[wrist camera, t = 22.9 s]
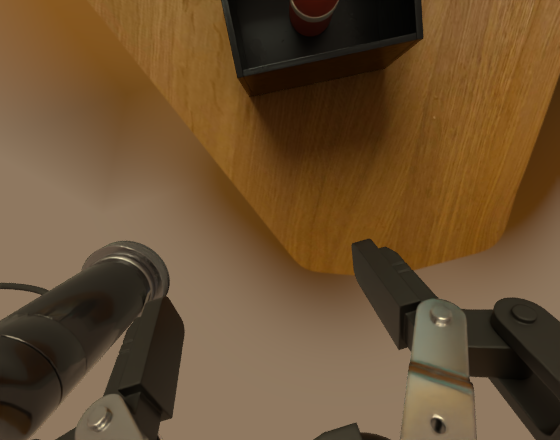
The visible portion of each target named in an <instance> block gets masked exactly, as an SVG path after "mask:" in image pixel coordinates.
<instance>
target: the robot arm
mask: <svg viewBox="0 0 560 440" xmlns="http://www.w3.org/2000/svg"><path fill="white" fill-rule="evenodd" d="M352 256H353V266H354V273H355V276H356V279H357V281H358V283H359V285H360V287H361V288H362V290H363V292H364V293H365V295H366V297H367V298H368V300H369V302H370V303H371V305H372V307H373V308H374V310H375V311H376V313H377V315H378V317H379V318H380V320H381V321H382V323H383V325H384V326H385V328H386V330H387V331H388V333H389V335H390V336H391V338H392V340H393V341H394V343H395V345H396V346H397V348H398V349H399V350H400V349H404V348H407V347H408V348H409V349H410V351H411V359H410V364H409V370H408V378H407V386H406V394H405V402H404V411H403V419H402V427H401V435H400V440H477V435H476V416H475V399H474V388H473V384H472V383H471V382H470V379H469V376H472V377H488V378H489V379H490V380H491V382H492V383H493V384H494V386H495V387H496V388H497V389H498V391H499V392H500V394H501V395H502V396H503V398H504V399H505V400H506V401H507V403H508V404H509V405H510V407H511V408H512V409H513V411H514V412H515V413H516V414H517V416H518V417H519V418H520V420H521V421H522V422H523V424H524V425H525V426H526V428H527V429H528V430H529V431H530V433H531V434H532V435H533V437H534V438H535V439H536V440H560V322H559V321H558V320H557V319H556V318H554V317H553V316H552V315H551V314H550V313H548V312H547V311H546V310H545V309H544V308H542V307H541V306H539V305H537V304H535V303H533V302H530V301H528V300H525V299H520V298H504V299H501V300H499V301H497V302H496V304H495V306H494V309H493V310H465V309H460V308H459V307H458V306H456V305H455V304H453V303H451V302H449V301H447V300H443V299H439V298H438V297H437V296H436V295H435V294H434V293H433V292H432V291H431V290H430V289H429V288H428V287H427V285H426V284H425V283H424V282H423V281H422V280H421V279H420V278H419V277H418V275H417V274H416V273H415V272H414V271H413V270H411V268H410V267H409V266H408V264H407V263H405V262H404V260H403V259H402V258H401V257H400V256H399V255H398V253H397V252H395V251H393V250H391V249H389V248H387V247H382V248H378V247H377V246H376V245H375V244H374V242H373V241H372V240H371V239H366V240H362V241H359V242H355V243H352ZM0 289H15V290H24V291H30V292H34V293H38V294H41V295H42V296H40V297H39V298H37V299H35V300H34V301H32V302H30V303H29V304H27V305H25V306H24V307H22V308H20V309H19V310H17V311H15V312H14V313H12V314H10V315H9V316H7V317H6V318H4V319H2V320H1V321H0V440H28V439H29V438H30V437H31V436H33V435H34V434H35V433H36V432H37V430H39V428H40V427H41V426H42V425H43V424H44V423H45V422H46V420H47V419H48V418H49V417H50V416H51V415H52V414H53V412H54V411H55V410H56V409H57V408H58V407H59V406H60V405H61V403H62V402H63V401H64V400H65V399H66V398H67V397H68V395H69V394H70V393H71V392H72V391H73V390H74V389H75V387H76V386H77V385H78V384H79V383H80V381H81V380H82V379H83V378H84V377H85V376H86V374H87V373H88V372H89V371H90V370H91V369H92V368H93V366H94V365H95V364H96V363H97V362H98V361H99V360H100V359H101V357H102V356H103V355H104V354H105V353H106V351H107V350H108V349H109V348H110V347H111V346H112V345H113V344H114V343H115V341H116V340H117V339H118V338H119V337H120V336H121V335H122V333H123V332H124V331H125V330H126V329H127V328H128V327H129V325H130V324H131V323H132V322H133V323H132V324H131V326H130V327H129V328H128V330H127V332H126V335H125V338H124V340H123V345H122V346H121V349H120V351H119V355H118V357H117V360H116V362H115V365H114V368H113V371H112V373H111V376H110V379H109V382H108V385H107V388H106V390H105V393H104V395H103V397H102V398H100V399H99V400H97V401H96V402H94V403H93V404H92V405H91V406H90V407H89V408H88V409H87V410H86V412H85V413H84V414H83V416H82V417H81V419H80V420H79V422H78V424H77V427H75V428H74V429H72V430H70V431H69V432H67V433H66V434H65V435H62V436H61V437H59V438H58V439H56V440H163V439H162V437H161V436H160V434H159V433H158V430H159V425H160V422H161V421H164V420H167V419H171V418H172V415H173V409H174V401H175V395H176V388H177V381H178V374H179V367H180V361H181V354H182V347H183V340H184V324H183V321H182V319H181V317H180V316H179V314H178V313H177V311H176V309H175V308H174V306H173V304H172V303H171V301H170V300H169V298H168V297H166V296H164V297H161V298H157V299H154V300H152V298H153V295H154V282H153V279H152V276H151V274H150V273H149V271H148V270H147V269H146V267H145V266H144V265H142V264H141V263H140V262H139V261H137V260H135V259H133V258H131V257H128V256H124V255H110V256H106V257H104V258H102V259H100V260H98V261H97V262H95V263H94V264H93V265H92V266H90V267H88V268H87V269H85V270H83V271H81V272H80V273H78V274H76V275H75V276H73V277H72V278H70V279H68V280H67V281H65V282H64V283H62V284H60V285H58V286H57V287H55V288H53V289H52V290H50V291H48V290H46V289H43V288H40V287H36V286H32V285H25V284H16V283H0ZM141 312H142V313H141ZM140 313H141V317H137V316H138V315H139V314H140ZM136 317H137V318H136ZM34 440H39V439H34ZM314 440H390V439H388V438H386V437H383V436H380V435H377V434H371V433H361V432H360V431H359V428H358V426H357V423H353V424H350V425H347V426H344V427H340V428H337V429H334V430H331V431H328V432H324V433H323V434H321V435H320V436H318V437H317V438H315V439H314Z"/></svg>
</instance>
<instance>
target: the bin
mask: <svg viewBox="0 0 560 440" xmlns="http://www.w3.org/2000/svg"><path fill="white" fill-rule="evenodd" d="M221 2H222V7H223V11H224V16H225V21H226V26H227V31H228V35H229V40H230V45H231V50H232V54H233V59H234V64H235V69H236V73H237V78H238V79H239V81H240V83H241V84H242V86H243V87H244V89H245V90H246V92H247V94H248V95H249V97H253V96H257V95H262V94H267V93H272V92H276V91H281V90H286V89H291V88H295V87H300V86H305V85H310V84H314V83H319V82H324V81H329V80H333V79H338V78H343V77H348V76H353V75H357V74H362V73H367V72H372V71H376V70H381V69H385V68H386V67H388V66H389V65H390V64H391V63H393V62H394V61H395V60H396V59H398V58H399V57H400V56H402V55H403V54H404V53H405V52H407V51H408V50H409V49H410V48H412V47H413V46H414V45H415V44H417V43H418V42H419V41H420V40H422V39H423V23H422V5H421V0H339V2H338V4H337V7H336V9H335V10H334V12H333V15H332V18H331V21H330V23H329V25H328V27H327V28H326V29H325V30H324V31H323V32H322V33H320V34H318V35H316V36H304V35H302V34H300V33H298V32H297V31H296V30H295V29H294V27H293V26H292V23H291V21H290V17H289V5H290V0H221Z"/></svg>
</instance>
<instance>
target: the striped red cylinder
mask: <svg viewBox="0 0 560 440" xmlns="http://www.w3.org/2000/svg"><path fill="white" fill-rule="evenodd" d="M338 2H339V0H290V5H289V17H290V21H291V23H292V26H293V27H294V29H295V30H296V31H297V32H298V33H300V34H302V35H304V36H316V35H318V34H320V33H322V32H323V31H324V30H325V29H326V28H327V27H328V25H329V23H330V21H331V18H332V15H333V12H334V10H335V9H336V7H337V4H338Z"/></svg>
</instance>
